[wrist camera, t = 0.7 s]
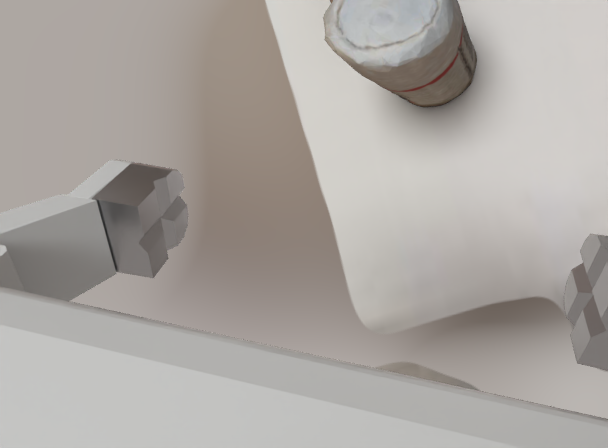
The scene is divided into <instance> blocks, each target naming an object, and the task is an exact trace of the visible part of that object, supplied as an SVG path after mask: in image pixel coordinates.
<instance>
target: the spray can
mask: <svg viewBox="0 0 608 448" xmlns="http://www.w3.org/2000/svg"><path fill="white" fill-rule="evenodd" d="M323 19H324V27H325V34H326V35H325V41H326V42H327V43H328V45H329V46H330V47H331V48H332V50H333V51H334V52H335V53H336V54H337V55H339V56H340V57H341V58H342V59H343V60H344V61H346V62H347V63H348V64H349V65H350V66H351V67H352V68H353V69H354V70H356V71H357V72H358V73H360V74H361V75H362V76H364V77H366V78H367V79H369V80H371V81H373V82H375V83H376V84H378V85H379V86H381V87H383V88H385V89H387V90H389V91H391V92H392V93H394V94H396V95H398V96H399V97H401V98H403V99H405V100H407V101H409V102H410V103H412V104H414V105H417V106H421V107H431V106H440V105H443V104H445V103H447V102H449V101H451V100H452V99H454V98H455V97H457V96H459V95H460V94H461V93H463V91H464V90H465V89H466V88H467V87H468V86H469V85H470V84H471V82H472V79H473V75H474V71H475V68H476V62H477V58H476V52H475V50H474V47H473V45H472V42H471V40H470V37H469V34H468V31H467V28H466V26H465V23H464V20H463V16H462V13H461V10H460V6H459V4H458V1H457V0H333V2H332V3H331V5H330V6H329V8H328V9H327V11H326V12H325V14H324V18H323Z"/></svg>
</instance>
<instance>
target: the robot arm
mask: <svg viewBox="0 0 608 448" xmlns="http://www.w3.org/2000/svg"><path fill="white" fill-rule="evenodd" d="M183 189H184V182H183V177H182V174H181V173H180V172H179V171H178V170H176V169H170V168H165V167H159V166H153V165H148V164H142V163H135V162H130V161H123V160H110V161H109V162H107V163H106V164H105V165H104V166H102V167H101V168H100V169H99V170H97V171H96V172H95V173H94V174H93V175H91V176H90V177H89V178H88V179H86V180H85V181H84V182H83V183H82V184H80V185H79V186H78V187H77V188H76V189H74V190H73V191H72V192H71V193H69V194H68V195H63V194H60V195H57V196H53V197H50V198H47V199H44V200H41V201H37V202H34V203H31V204H28V205H25V206H21V207H18V208H15V209H12V210H8V211H5V212H2V213H0V448H608V419H605V418H601V417H596V416H592V415H587V414H582V413H578V412H573V411H568V410H564V409H559V408H555V407H551V406H546V405H541V404H537V403H532V402H528V401H523V400H519V399H514V398H510V397H505V396H500V395H496V394H491V393H486V392H482V391H478V390H473V389H468V388H464V387H459V386H455V385H450V384H446V383H441V382H437V381H432V380H427V379H423V378H418V377H414V376H409V375H405V374H400V373H396V372H391V371H386V370H382V369H377V368H373V367H368V366H363V365H358V364H354V363H350V362H345V361H340V360H336V359H331V358H326V357H322V356H317V355H313V354H308V353H303V352H299V351H294V350H290V349H285V348H280V347H276V346H271V345H267V344H262V343H257V342H253V341H248V340H244V339H239V338H235V337H230V336H225V335H220V334H216V333H211V332H207V331H203V330H198V329H193V328H189V327H184V326H180V325H175V324H171V323H166V322H161V321H157V320H152V319H148V318H143V317H138V316H134V315H130V314H124V313H120V312H116V311H111V310H106V309H102V308H98V307H93V306H88V305H84V304H79V303H75V302H70V300H72V299H73V298H75V297H77V296H79V295H80V294H82V293H84V292H86V291H87V290H89V289H91V288H93V287H94V286H96V285H98V284H100V283H101V282H103V281H105V280H107V279H108V278H110V277H112V276H114V275H115V274H116V272H120V273H126V274H132V275H138V276H144V277H150V278H154V277H155V275H156V274H157V273H158V271H159V270H160V269H161V267H162V266H163V265H164V263H165V262H166V260H167V259H168V254H167V250H169V249H171V248H173V247H175V246H178V244H179V243H180V242H181V240H182V239H183V238H184V235H185V232H186V229H187V226H188V208H187V204H186V203H185V202H184V201H183V199H181V197H180V196H179V195H180V194H181V192H182V191H183ZM580 253H581V256H582V260H583V263H582V264H580V265H579V266H577V267H575V268H574V269H572V270H571V273H570V275H569V278H568V280H567V283H566V288H565V293H564V309H565V314H566V318H568V319H569V320H570V321H571V322H572V323H573V324H574V325H575V327H574V329H573V331H572V333H571V340H572V344H573V348H574V352H575V356H576V360H577V363H578V364H582V365H587V366H591V367H596V368H600V369H605V370H608V236H604V235H596V234H590V235H589V236H588V237H587V239H586V240H585V242H584V244H583V246H582V248H581V250H580Z"/></svg>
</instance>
